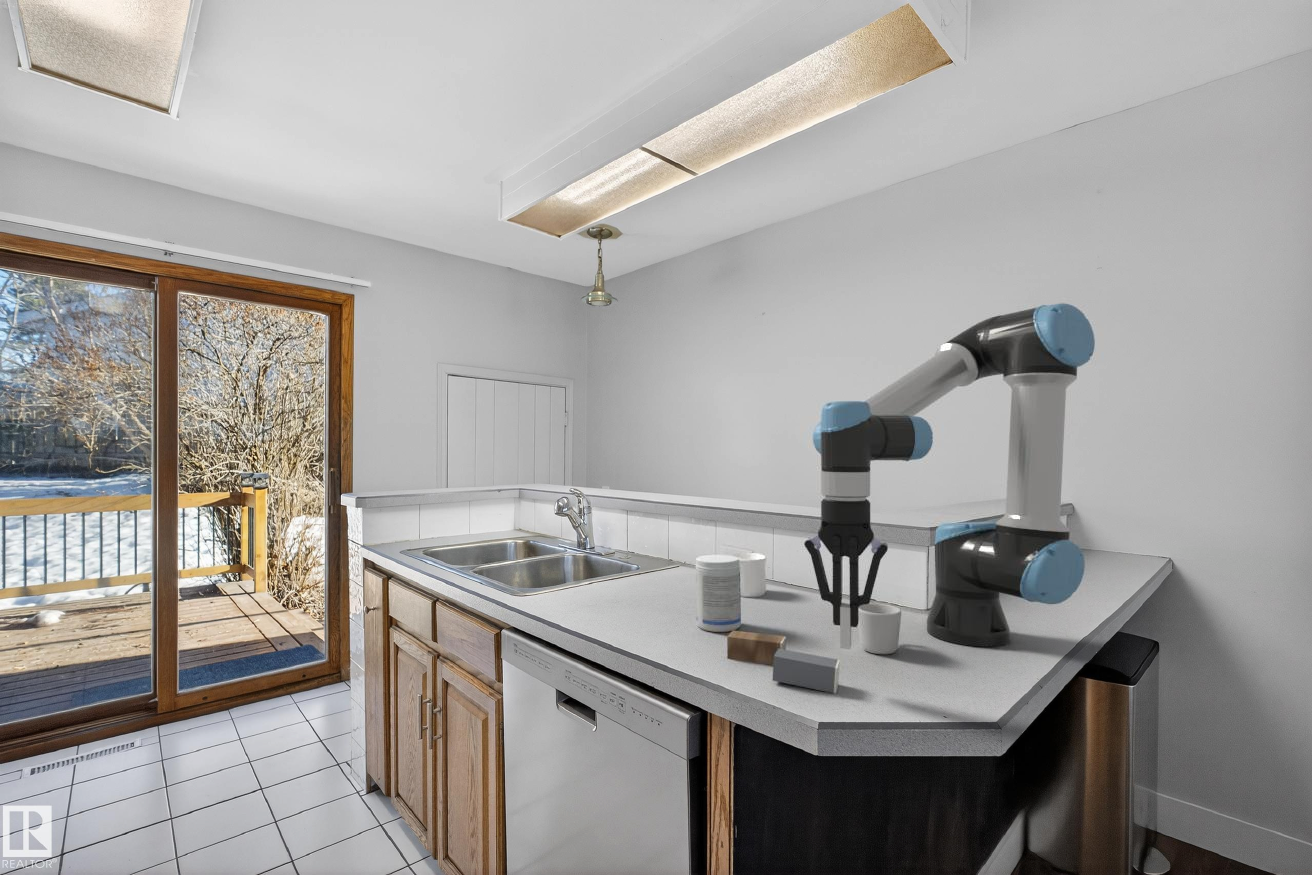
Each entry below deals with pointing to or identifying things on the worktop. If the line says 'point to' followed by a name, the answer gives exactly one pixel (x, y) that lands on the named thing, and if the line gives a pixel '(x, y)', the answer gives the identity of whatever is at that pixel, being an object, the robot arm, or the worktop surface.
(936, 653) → the worktop surface
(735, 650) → the walnut block
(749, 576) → the cup
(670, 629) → the worktop surface
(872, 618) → the cup
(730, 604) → the supplement tub
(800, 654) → the charcoal block
